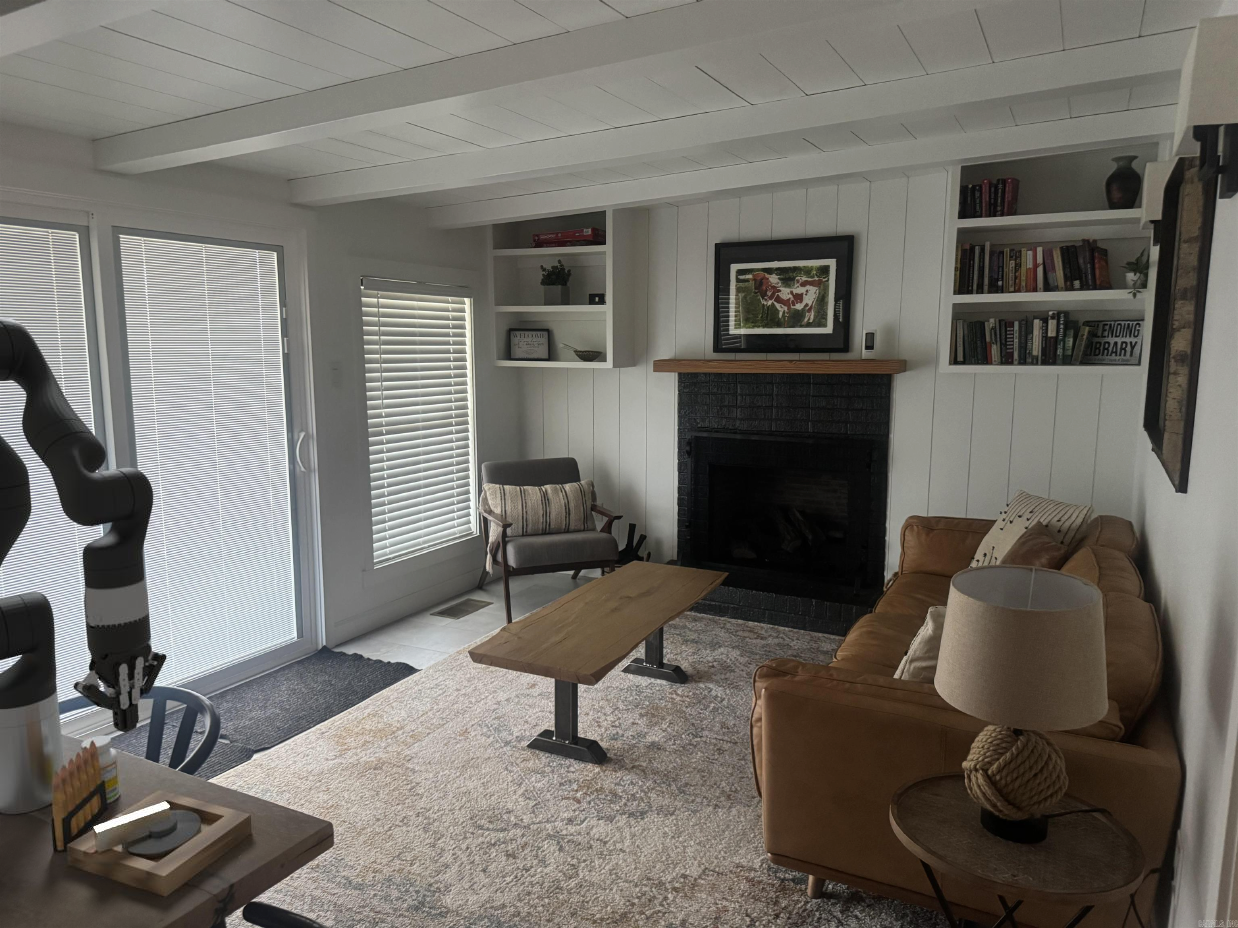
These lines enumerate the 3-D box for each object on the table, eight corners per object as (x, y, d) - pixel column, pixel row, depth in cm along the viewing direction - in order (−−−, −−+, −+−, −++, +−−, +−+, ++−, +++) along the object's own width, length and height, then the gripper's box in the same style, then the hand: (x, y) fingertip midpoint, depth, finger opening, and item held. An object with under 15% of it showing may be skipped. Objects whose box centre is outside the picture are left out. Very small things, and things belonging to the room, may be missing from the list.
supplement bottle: (86, 791, 132) (81, 735, 130) (124, 786, 133) (119, 731, 132) (76, 810, 127) (70, 752, 125) (115, 804, 128) (110, 747, 127)
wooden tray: (66, 865, 114) (64, 844, 113) (161, 807, 128) (159, 788, 127) (164, 897, 108) (162, 875, 107) (251, 832, 122) (250, 812, 121)
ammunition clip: (66, 852, 117) (58, 774, 115) (52, 852, 116) (44, 774, 115) (108, 808, 127) (101, 737, 125) (96, 809, 127) (89, 737, 125)
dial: (188, 809, 124) (186, 780, 124) (210, 838, 117) (208, 808, 117) (89, 844, 116) (86, 813, 115) (106, 879, 108) (103, 846, 108)
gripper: (140, 594, 120) (148, 705, 123) (51, 624, 108) (62, 745, 111) (178, 602, 118) (186, 714, 120) (91, 633, 105) (101, 757, 108)
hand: (126, 729), depth 116 cm, fingers closed
